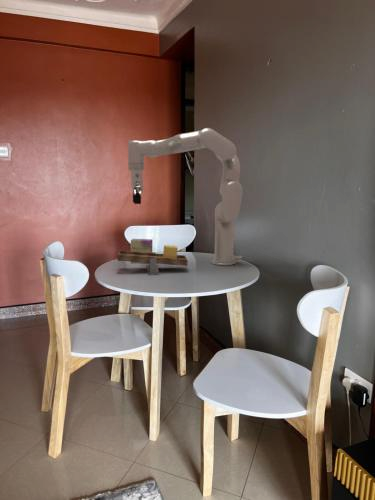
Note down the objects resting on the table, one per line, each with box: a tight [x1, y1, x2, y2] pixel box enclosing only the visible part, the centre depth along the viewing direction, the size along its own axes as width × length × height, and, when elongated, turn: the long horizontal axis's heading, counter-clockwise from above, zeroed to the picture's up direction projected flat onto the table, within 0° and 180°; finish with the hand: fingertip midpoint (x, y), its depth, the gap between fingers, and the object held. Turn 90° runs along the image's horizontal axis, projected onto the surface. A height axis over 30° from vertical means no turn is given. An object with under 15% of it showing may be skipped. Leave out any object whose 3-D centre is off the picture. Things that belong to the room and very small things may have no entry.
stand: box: [146, 251, 160, 276], centre depth 178 cm, size 5×17×7 cm, turn 7°
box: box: [130, 238, 153, 264], centre depth 196 cm, size 10×6×12 cm, turn 84°
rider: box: [162, 244, 178, 259], centre depth 178 cm, size 6×5×6 cm
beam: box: [117, 250, 189, 267], centre depth 178 cm, size 32×10×3 cm, turn 97°
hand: (136, 203), depth 185 cm, fingers open, 9 cm apart
